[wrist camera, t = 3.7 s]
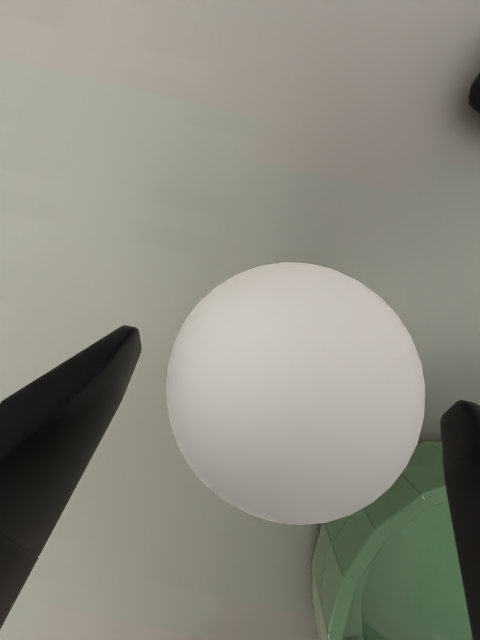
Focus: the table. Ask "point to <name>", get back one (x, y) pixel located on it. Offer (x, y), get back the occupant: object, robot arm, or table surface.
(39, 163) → the table surface
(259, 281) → the light bulb
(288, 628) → the table surface
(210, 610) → the table surface
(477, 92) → the tape measure
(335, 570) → the bowl
